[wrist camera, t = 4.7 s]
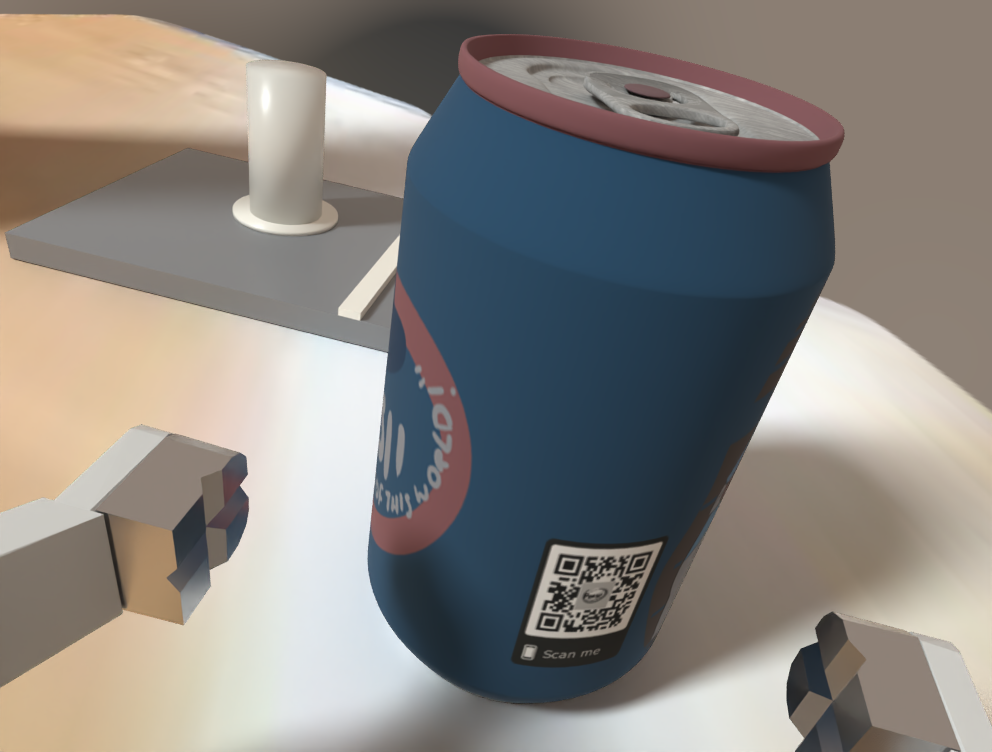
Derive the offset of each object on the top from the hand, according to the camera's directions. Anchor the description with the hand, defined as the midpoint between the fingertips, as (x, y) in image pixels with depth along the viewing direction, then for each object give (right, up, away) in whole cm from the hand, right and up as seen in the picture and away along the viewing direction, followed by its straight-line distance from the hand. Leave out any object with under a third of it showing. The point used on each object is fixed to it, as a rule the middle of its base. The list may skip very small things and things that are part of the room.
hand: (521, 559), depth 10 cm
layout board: (-5, +7, +20) cm, 22 cm away
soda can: (0, -3, +7) cm, 8 cm away
